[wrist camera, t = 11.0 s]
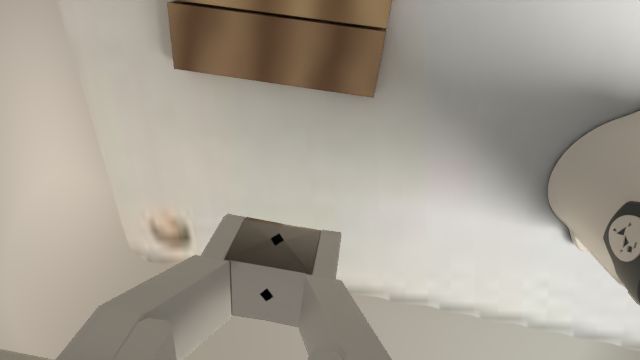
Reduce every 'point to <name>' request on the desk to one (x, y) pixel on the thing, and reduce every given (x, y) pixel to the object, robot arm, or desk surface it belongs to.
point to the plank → (317, 9)
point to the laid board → (276, 48)
